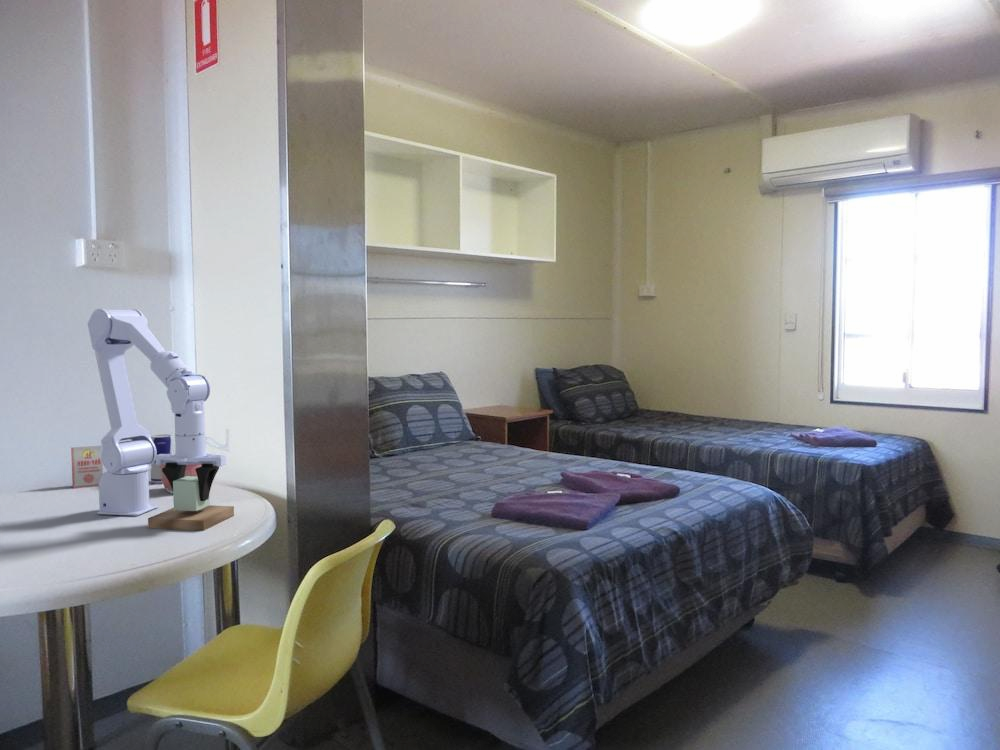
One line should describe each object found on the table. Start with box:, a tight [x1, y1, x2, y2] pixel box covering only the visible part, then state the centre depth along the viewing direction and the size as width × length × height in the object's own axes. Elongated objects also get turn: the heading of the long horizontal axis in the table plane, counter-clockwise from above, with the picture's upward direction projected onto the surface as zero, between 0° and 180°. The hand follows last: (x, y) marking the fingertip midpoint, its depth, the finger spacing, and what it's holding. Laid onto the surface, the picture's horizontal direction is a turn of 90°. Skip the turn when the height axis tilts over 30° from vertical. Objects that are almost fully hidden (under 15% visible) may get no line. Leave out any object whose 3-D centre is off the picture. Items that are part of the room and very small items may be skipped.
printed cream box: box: [70, 444, 104, 489], centre depth 194 cm, size 4×7×10 cm, turn 119°
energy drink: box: [150, 434, 174, 485], centre depth 198 cm, size 5×5×12 cm
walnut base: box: [147, 504, 235, 532], centre depth 158 cm, size 12×12×2 cm
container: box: [161, 464, 202, 494], centre depth 188 cm, size 10×10×8 cm
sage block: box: [172, 476, 211, 511], centre depth 158 cm, size 5×5×6 cm
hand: (191, 499), depth 158 cm, fingers closed on sage block, 5 cm apart
